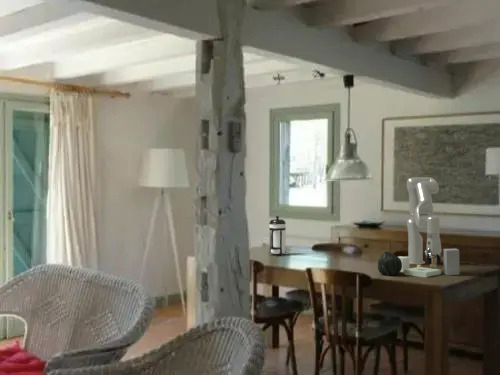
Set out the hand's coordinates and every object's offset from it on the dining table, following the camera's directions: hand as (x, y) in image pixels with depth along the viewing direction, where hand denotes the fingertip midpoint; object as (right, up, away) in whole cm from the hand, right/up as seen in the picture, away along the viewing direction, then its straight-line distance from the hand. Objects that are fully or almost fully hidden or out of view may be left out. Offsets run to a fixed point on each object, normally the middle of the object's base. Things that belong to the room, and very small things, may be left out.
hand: (433, 263), depth 398 cm
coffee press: (-94, -4, +88) cm, 129 cm away
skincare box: (+9, -6, -8) cm, 13 cm away
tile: (-7, -6, +10) cm, 13 cm away
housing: (-19, -6, +5) cm, 20 cm away
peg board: (-9, -6, -7) cm, 13 cm away
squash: (-29, -6, -6) cm, 30 cm away
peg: (0, -6, +1) cm, 6 cm away
